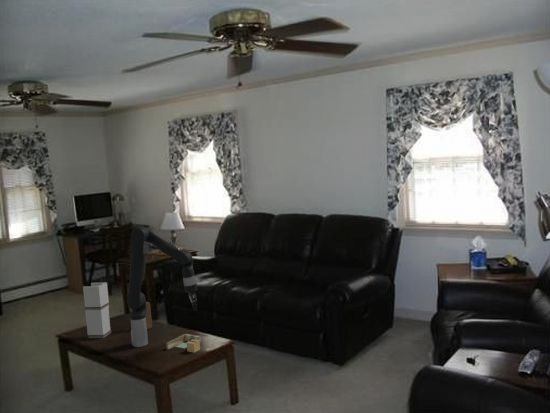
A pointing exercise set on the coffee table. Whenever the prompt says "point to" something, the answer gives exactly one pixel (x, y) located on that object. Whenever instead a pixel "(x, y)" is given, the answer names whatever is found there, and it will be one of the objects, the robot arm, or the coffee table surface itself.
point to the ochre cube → (193, 345)
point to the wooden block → (148, 316)
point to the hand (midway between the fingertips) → (195, 309)
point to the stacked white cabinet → (97, 310)
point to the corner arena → (181, 340)
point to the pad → (182, 345)
